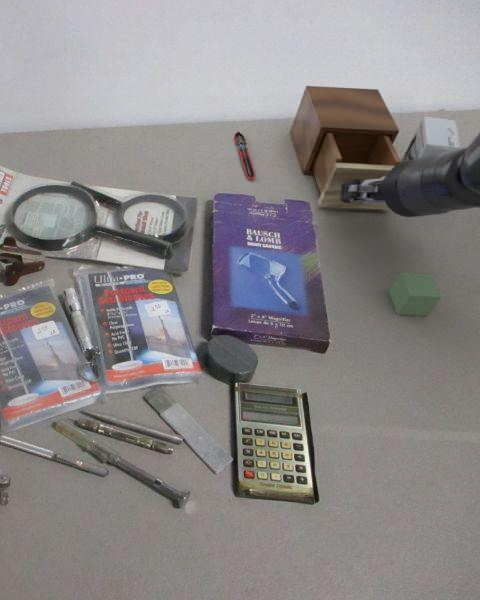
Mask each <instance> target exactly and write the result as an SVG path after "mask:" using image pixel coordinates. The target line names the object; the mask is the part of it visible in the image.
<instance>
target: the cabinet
mask: <svg viewBox="0 0 480 600" xmlns="http://www.w3.org/2000/svg"><path fill="white" fill-rule="evenodd" d="M325 131H332V132H351V133H371V134H388V136H389V138H390V140H391V142H392V144H393V145H394V142H395V141H396V139H397V137H398V134H399V133H400V129H399V127H398V126H397V123H396V121H395V120H394V118H393V116H392V114H391V111H390V110H389V108H388V106H387V103H386V102H385V100H384V98H383V96H382V94H381V92H380V91H379V89H377V88H374V89H372V88H359V87H358V88H355V87H338V86H317V85H313V86H312V85H306V86H305V88H304V91H303V93H302V97H301V100H300V102H299V105H298V108H297V111H296V114H295V117H294V119H293V122H292V125H291V129H290V131H289V135H290V137H291V140H292V144H293V147H294V150H295V154H296V157H297V159H298V160H297V161H298V163H299V166H300V170H301V173H302V175H306V176H307V175H308V176H315V175H314V172H313V169H312V166H311V164H312V162H313V159H314V157H315V154H316V152H317V149H318V147H319V144H320V142H321V139H322V137H323V134H324V132H325Z"/></svg>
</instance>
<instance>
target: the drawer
mask: <svg viewBox="0 0 480 600" xmlns="http://www.w3.org/2000/svg"><path fill="white" fill-rule="evenodd" d="M400 163H401V158H400V157H399V155H398V153H397V151H396V148H395V146H394V143H393V144H392V142H391V140H390V138H389V136H388V134H371V133H351V132H332V131H325V132H324V134H323V137H322V139H321V142H320V144H319V147H318V149H317V152H316V154H315V157H314V159H313V162H312V164H311V166H312V169H313V172H314V175H313V176H314V178H315V181H316V184H317V187H318V189H319V193H320V196H319V198H318V201H317V202H318V205H319V207H328V208H346V209H347V208H351V209H366V210H367V209H370V210H386V211H387V210H390V211H391V209H390V208H389V207H388V206H387V205H380V204H363V203H362V201H360V202H355V203H354V202H351V203H344V202H343V201H341V200H340V196H341V184H342V183H344V182H347V181H349V180H353V179H359V180H361V181H362V183H361V184H363V182H364V181H365V180H371V179H380V178H382V177H384V176H386V175H387V174H388V173H389V172H390V170H391V169H392V168H394V167H395V166H396V165H398V164H400ZM362 195H363V193H360V197H362ZM372 199H373V200H377V199H375V198H373V197H372Z"/></svg>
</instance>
